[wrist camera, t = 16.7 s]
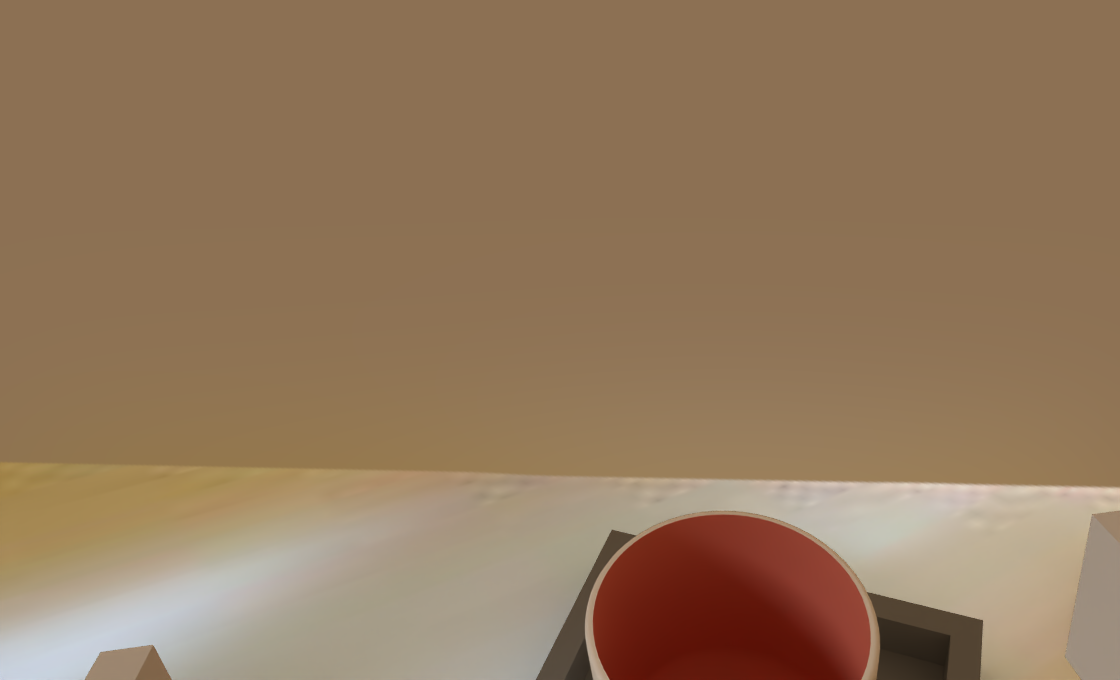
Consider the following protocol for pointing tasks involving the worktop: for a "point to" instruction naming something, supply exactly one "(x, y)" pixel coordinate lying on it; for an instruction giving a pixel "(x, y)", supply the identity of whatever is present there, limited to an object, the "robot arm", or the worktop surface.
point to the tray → (905, 628)
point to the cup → (729, 605)
